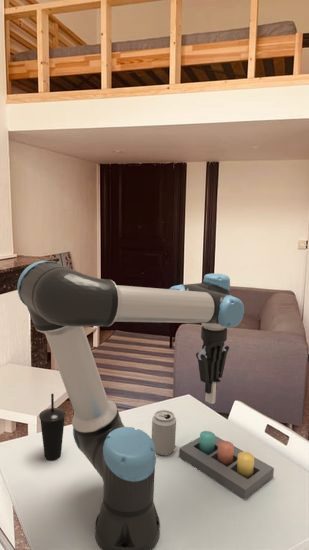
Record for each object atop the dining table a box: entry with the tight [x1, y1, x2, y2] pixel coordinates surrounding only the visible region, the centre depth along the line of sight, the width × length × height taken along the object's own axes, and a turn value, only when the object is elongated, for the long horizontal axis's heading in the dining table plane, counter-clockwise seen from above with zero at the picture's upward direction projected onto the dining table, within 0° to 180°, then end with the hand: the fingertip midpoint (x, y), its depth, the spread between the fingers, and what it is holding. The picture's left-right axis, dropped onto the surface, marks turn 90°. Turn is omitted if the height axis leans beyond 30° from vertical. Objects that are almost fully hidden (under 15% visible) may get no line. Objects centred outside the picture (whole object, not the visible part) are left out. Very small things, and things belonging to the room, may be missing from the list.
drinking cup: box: [38, 393, 67, 462], centre depth 120 cm, size 8×8×20 cm
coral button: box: [217, 440, 235, 466], centre depth 119 cm, size 5×5×5 cm
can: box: [151, 409, 177, 456], centre depth 126 cm, size 8×8×12 cm
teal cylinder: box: [199, 430, 216, 454], centre depth 124 cm, size 5×5×5 cm
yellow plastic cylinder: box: [237, 451, 255, 478], centre depth 114 cm, size 5×5×5 cm
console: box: [178, 435, 275, 501], centre depth 119 cm, size 14×24×3 cm, turn 43°
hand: (210, 401), depth 122 cm, fingers closed
